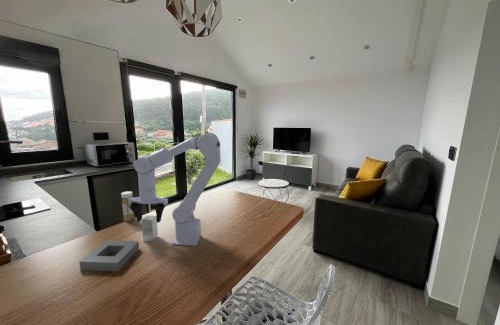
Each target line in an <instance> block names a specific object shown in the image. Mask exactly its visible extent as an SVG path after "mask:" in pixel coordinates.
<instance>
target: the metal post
mask: <svg viewBox="0 0 500 325" xmlns="http://www.w3.org/2000/svg"><path fill="white" fill-rule="evenodd" d="M141 227H142V228H141V229H142V232H141V233H142V242H144V243H145V242H150V243H153V242H155V240H157V238H158V237H159V233H158V231H159V230H158V223H157V217H156V215H145V217H142V220H141Z"/></svg>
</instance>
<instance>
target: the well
mask: <svg viewBox="0 0 500 325" xmlns="http://www.w3.org/2000/svg"><path fill="white" fill-rule="evenodd" d="M139 243H140V242H139V241H135V240H133V241H132V240H131V241H130V240H129V241H128V240H107V239H106V240H104V241H103V242H102V243H100V244H99V245H98V246H97V247H95V249H93V250H92V251H90V252H89V253H88V254H86V255H85V256H84V257H83V258H82V259H80V260H79V262H78V263H79V269H80V270H79V271H95V272H96V271H97V272H98V271H99V272H120V271H121V269H122V268H123V267H124V266H125V265H126V264H127V263H128V262H129V261H130V260H131V258H132V257H133V256H134V255H135V254H136V253H137V251H139V250H140V248H139V245H140V244H139ZM109 254H115V255H114V256H113V255H112V256H111V255H109ZM108 255H109V256H108Z"/></svg>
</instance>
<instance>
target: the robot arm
mask: <svg viewBox="0 0 500 325" xmlns="http://www.w3.org/2000/svg"><path fill="white" fill-rule="evenodd" d="M188 150H194V151H197V150H199V151H200V153H201V154H202V155H203V157H204V160H205V162H204V164H203V166H202V168H201V170H200V172H198V175H197V177H196V179H195V180H194V182H193V183H192V185H191V187H190V189H189V190H188V192H187V194H186V195H185V197H184V199H183V200H181V201H180V203H179V205H177V207H176V208H174V209H173V211H172V213H171V214H172V215H171V216H172V218H173V220H174V222H175V225H174V226H175V239H173V241H172V243H171V244H172V245H173V246H174V245H175V246H197V245H198V243H199V241H200V240H201V237H202V226H201V225H202V222H201V219H200V218H196V217H195V215H194V212H195V210H196V206H197V202H198V200H199V198H200V196H201V195H202V194H203V192H204V190H205V188H206V187H207V186H208V183H209V182H210V180H211V179H212V177H213V175H214V173H215V172H216V171H217V168H218V167H219V166H220V164H221V142H220V140H219V138H218V135H216V134H215V133H213V132H208V133H203V134H201V135H197V136H195V137H191V138H188V139H186V140H184V141H182V142H180V143H178V144H176V145H175V146H173V147H171V148H167V147H161V146H160V147H158V148H156V150H155V151H154V152H152V153H146V154H145V156H144V157H139V158H138V159H136V160H135V161H134V164H133V166H134V167H133V168H134V170H135V171H136V172H137V178H138V179H137V180H138V192H139V196H135V197H133V196H132V197H131V198H129V199H128V204H131V206H130V209H131V210H132V211H133V213H134V217H135V218H136V222H138V223H139V222H142V219H143V209H142V208H143V205H144V204H145V205H147V204H148V205H155V206H154V210H155V216H156V217H157V224H158V223H160V222H161V221H162V216H163V213H164V210H165V207H166V205H168V203H169V198H164V197H159V196H157V191H156V174H155V170H156V169H159V168H161V167H162V166H165V165H166V164H169V163H171V162H172V161H173V158H174V157H175V156H178V155H180V154H182V153H184V152H187V151H188Z"/></svg>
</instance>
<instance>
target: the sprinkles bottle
mask: <svg viewBox="0 0 500 325" xmlns="http://www.w3.org/2000/svg"><path fill="white" fill-rule="evenodd" d="M120 195H121V200H122V205H121V206H122V214H123V221H124V222H131V221H133V220H134V219H135V214H134V213H133V211H132V210H131V209H130V206H131V204H128V199H129V198H131V197H133V191H123V192H121V193H120ZM132 219H133V220H132Z"/></svg>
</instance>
